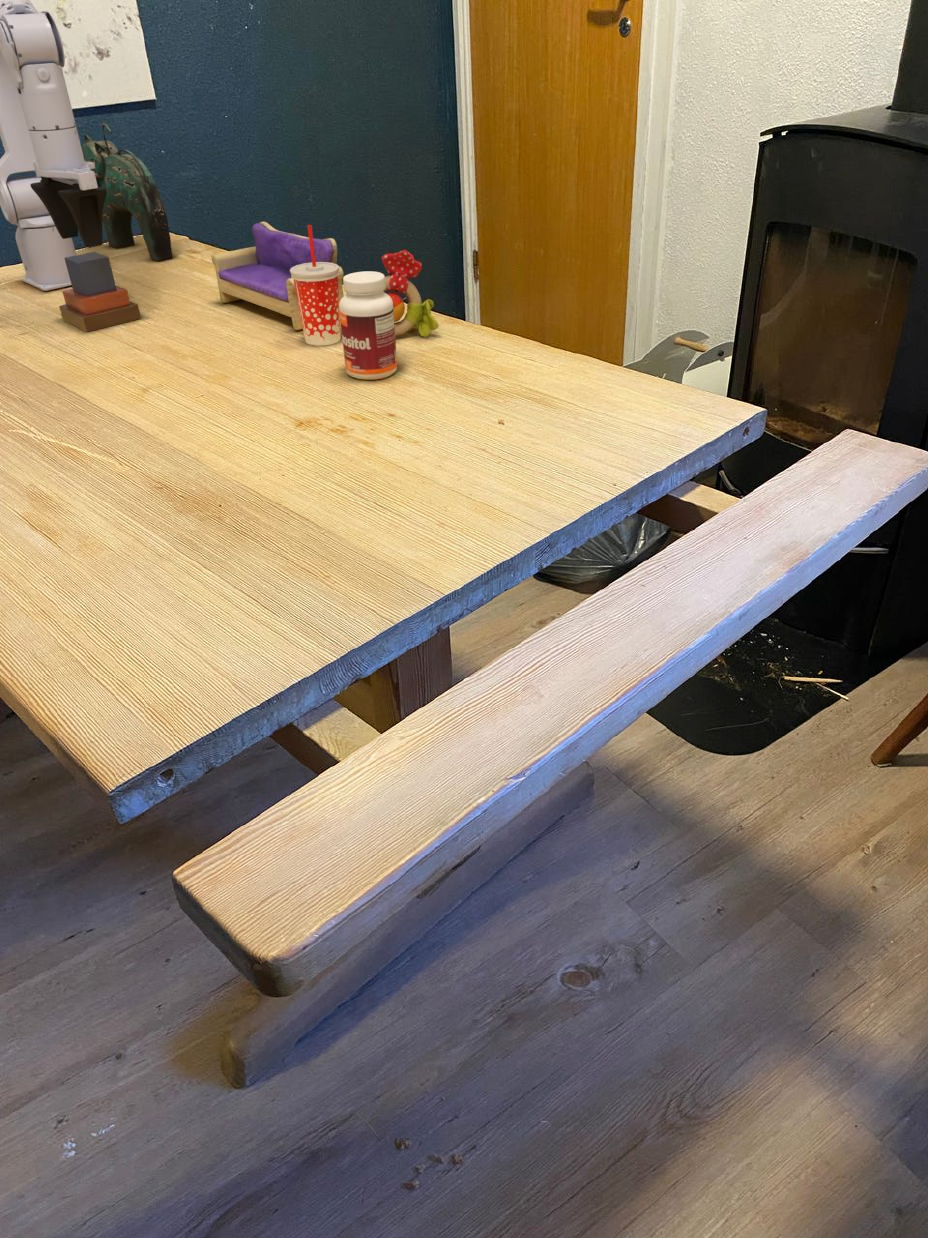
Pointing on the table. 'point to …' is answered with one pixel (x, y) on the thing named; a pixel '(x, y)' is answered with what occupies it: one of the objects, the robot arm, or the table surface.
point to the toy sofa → (270, 269)
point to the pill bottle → (367, 326)
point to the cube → (90, 273)
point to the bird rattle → (407, 294)
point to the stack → (98, 309)
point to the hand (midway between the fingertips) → (82, 241)
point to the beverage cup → (318, 299)
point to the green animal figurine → (128, 198)
